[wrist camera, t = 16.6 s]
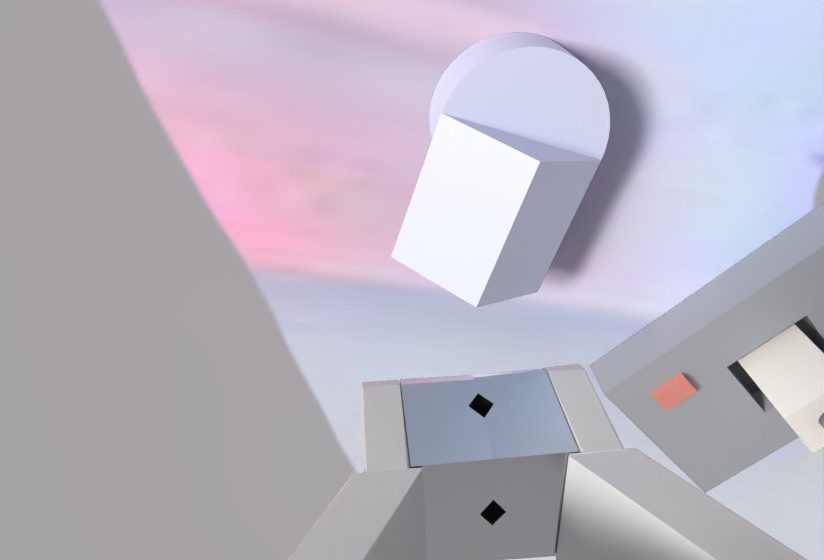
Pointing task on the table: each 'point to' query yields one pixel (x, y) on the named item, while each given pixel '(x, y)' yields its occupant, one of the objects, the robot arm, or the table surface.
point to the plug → (792, 381)
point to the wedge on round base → (503, 167)
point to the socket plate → (721, 358)
